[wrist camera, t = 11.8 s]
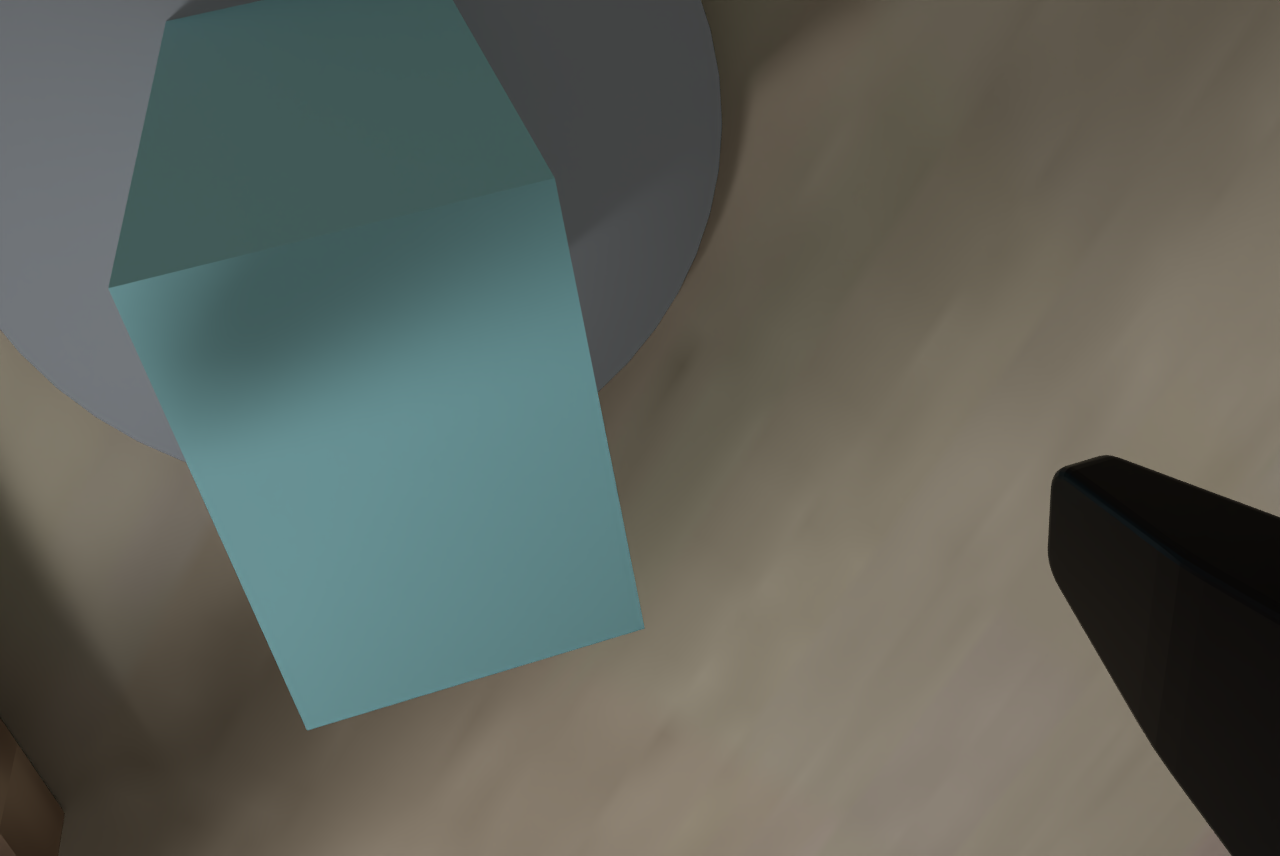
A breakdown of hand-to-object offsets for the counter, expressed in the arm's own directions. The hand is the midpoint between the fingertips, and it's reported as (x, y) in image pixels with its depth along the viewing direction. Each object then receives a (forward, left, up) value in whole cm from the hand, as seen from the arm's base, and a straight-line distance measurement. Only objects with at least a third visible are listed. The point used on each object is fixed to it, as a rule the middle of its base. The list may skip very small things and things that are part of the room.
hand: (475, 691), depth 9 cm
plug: (0, 0, -11) cm, 11 cm away
